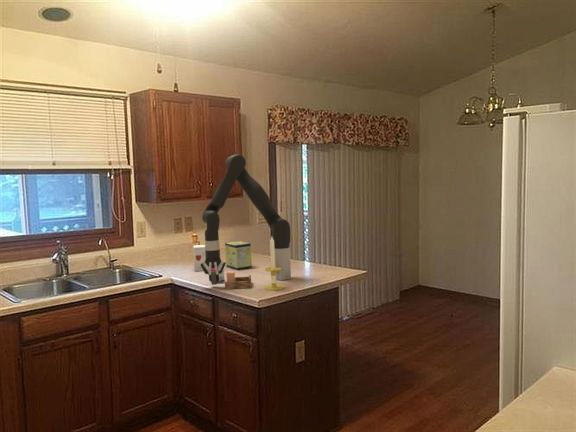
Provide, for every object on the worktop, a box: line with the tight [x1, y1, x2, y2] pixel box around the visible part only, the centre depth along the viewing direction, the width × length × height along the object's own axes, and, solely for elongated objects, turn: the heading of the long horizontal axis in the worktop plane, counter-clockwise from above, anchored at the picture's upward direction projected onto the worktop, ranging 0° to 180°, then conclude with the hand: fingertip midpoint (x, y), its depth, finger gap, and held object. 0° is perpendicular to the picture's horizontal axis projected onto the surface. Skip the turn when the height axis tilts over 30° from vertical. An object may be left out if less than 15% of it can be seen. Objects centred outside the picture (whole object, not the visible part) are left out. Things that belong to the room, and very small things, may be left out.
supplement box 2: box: [211, 259, 225, 283], centre depth 275 cm, size 6×6×12 cm
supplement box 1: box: [193, 244, 209, 272], centre depth 309 cm, size 9×9×15 cm
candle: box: [264, 236, 285, 291], centre depth 253 cm, size 10×10×27 cm
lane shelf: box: [224, 274, 252, 290], centre depth 261 cm, size 13×12×4 cm
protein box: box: [224, 241, 253, 271], centre depth 311 cm, size 10×16×16 cm
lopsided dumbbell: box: [211, 270, 236, 286], centre depth 260 cm, size 12×5×6 cm, turn 93°
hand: (214, 281), depth 260 cm, fingers closed on lopsided dumbbell, 2 cm apart
